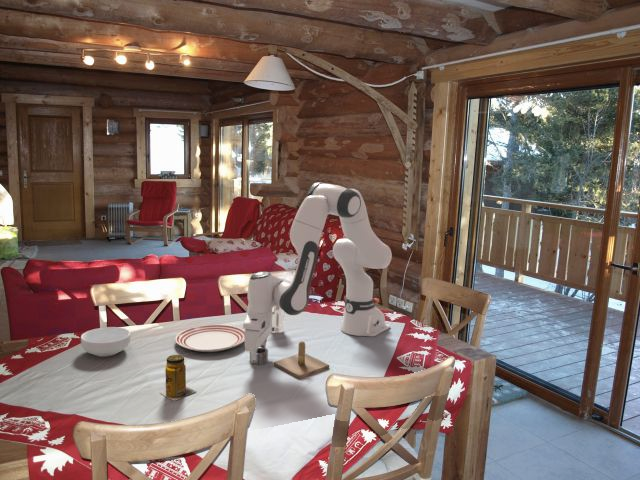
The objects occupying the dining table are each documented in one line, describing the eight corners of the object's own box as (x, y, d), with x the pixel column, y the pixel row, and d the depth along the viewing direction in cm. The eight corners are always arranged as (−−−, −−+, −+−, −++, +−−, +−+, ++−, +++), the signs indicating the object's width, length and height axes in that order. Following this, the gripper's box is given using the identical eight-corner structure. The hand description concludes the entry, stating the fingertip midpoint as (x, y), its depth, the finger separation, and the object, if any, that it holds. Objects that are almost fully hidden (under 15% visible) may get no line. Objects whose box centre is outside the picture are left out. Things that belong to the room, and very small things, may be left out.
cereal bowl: (139, 353, 197) (138, 335, 196) (94, 366, 185) (93, 346, 184) (117, 340, 208) (116, 323, 207) (73, 351, 196) (72, 333, 195)
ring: (260, 356, 199) (260, 345, 198) (271, 361, 194) (271, 351, 194) (246, 360, 195) (246, 350, 194) (256, 366, 190) (257, 355, 189)
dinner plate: (160, 349, 202) (160, 340, 202) (202, 326, 227) (202, 319, 227) (223, 363, 192) (223, 354, 192) (259, 337, 217) (260, 330, 217)
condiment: (160, 393, 168) (159, 357, 166) (182, 384, 174) (182, 349, 172) (173, 401, 163) (173, 364, 161) (196, 392, 170) (196, 356, 167)
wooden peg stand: (303, 355, 201) (303, 331, 199) (329, 368, 191) (330, 343, 189) (273, 365, 192) (274, 340, 190) (299, 378, 182) (300, 352, 180)
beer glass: (282, 334, 221) (283, 299, 218) (265, 332, 222) (266, 297, 219) (286, 329, 228) (287, 294, 225) (270, 327, 229) (271, 293, 226)
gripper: (260, 308, 202) (259, 343, 204) (241, 325, 182) (240, 364, 185) (276, 309, 201) (275, 345, 203) (259, 327, 181) (258, 366, 183)
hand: (258, 354), depth 194 cm, fingers open, 8 cm apart
